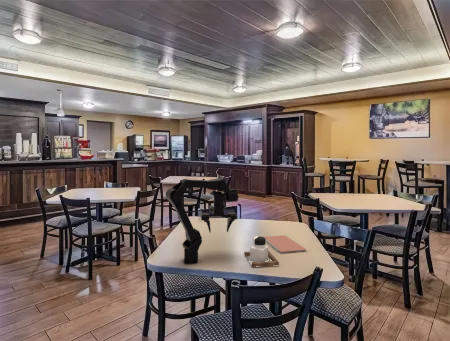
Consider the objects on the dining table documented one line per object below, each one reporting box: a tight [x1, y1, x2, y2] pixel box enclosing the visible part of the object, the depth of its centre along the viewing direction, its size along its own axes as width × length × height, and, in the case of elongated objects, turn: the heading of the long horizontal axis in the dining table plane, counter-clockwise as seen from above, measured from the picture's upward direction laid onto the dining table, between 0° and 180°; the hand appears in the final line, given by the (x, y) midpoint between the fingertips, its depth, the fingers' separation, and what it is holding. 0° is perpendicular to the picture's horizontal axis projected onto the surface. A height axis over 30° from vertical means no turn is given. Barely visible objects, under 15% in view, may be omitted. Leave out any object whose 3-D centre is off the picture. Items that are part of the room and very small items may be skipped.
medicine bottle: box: [249, 235, 269, 262], centre depth 150 cm, size 7×7×12 cm
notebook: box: [263, 234, 307, 254], centre depth 176 cm, size 27×17×2 cm, turn 14°
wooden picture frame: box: [243, 250, 280, 268], centre depth 151 cm, size 14×16×2 cm
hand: (218, 232), depth 155 cm, fingers open, 9 cm apart
